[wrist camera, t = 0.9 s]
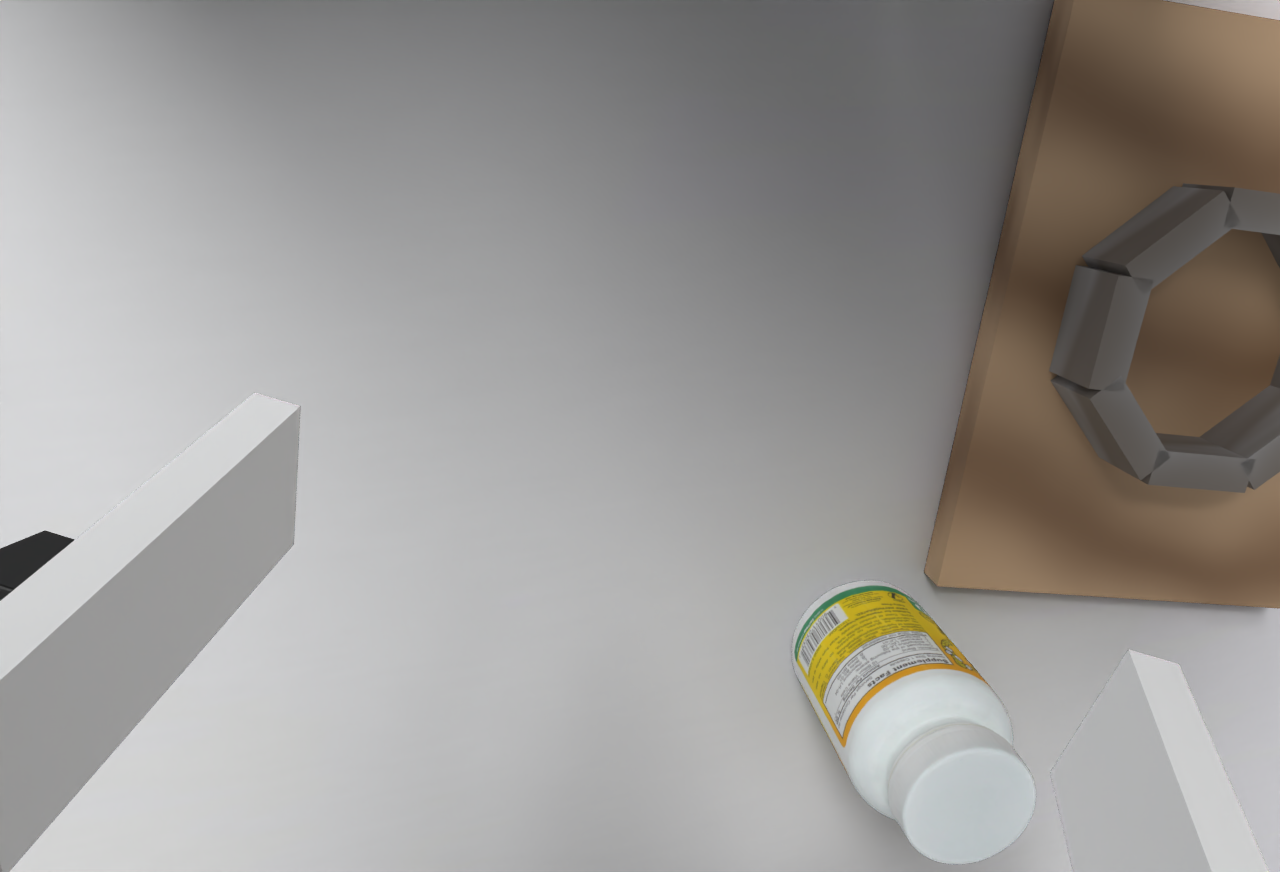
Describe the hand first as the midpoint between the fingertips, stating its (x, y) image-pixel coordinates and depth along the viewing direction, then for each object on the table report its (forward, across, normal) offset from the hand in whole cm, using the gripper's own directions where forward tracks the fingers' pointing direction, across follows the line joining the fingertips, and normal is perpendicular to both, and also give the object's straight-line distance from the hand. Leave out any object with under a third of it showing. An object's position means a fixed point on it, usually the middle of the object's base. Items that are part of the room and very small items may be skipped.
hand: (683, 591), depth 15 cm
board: (+23, +14, 0) cm, 27 cm away
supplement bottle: (+18, +8, -14) cm, 24 cm away
